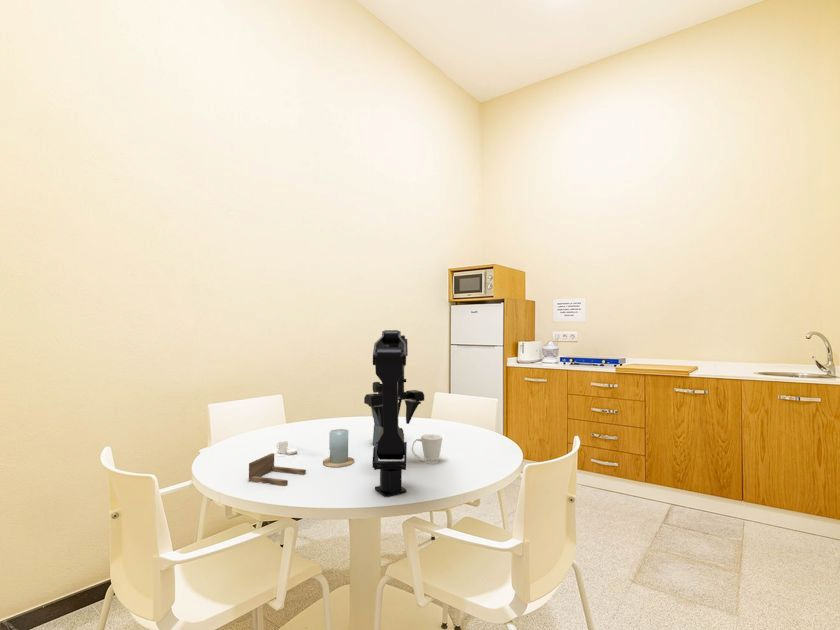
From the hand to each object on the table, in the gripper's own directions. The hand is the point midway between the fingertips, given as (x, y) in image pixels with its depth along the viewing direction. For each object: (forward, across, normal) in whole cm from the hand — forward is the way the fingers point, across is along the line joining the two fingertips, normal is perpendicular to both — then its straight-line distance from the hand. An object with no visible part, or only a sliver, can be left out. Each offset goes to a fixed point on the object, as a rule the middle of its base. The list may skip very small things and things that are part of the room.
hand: (394, 425), depth 131 cm
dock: (+13, +33, -10) cm, 37 cm away
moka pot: (+13, -10, -26) cm, 31 cm away
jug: (+13, +13, -15) cm, 24 cm away
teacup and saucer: (+14, +26, -31) cm, 43 cm away
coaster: (+13, +13, -14) cm, 23 cm away
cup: (+13, -12, 0) cm, 18 cm away
